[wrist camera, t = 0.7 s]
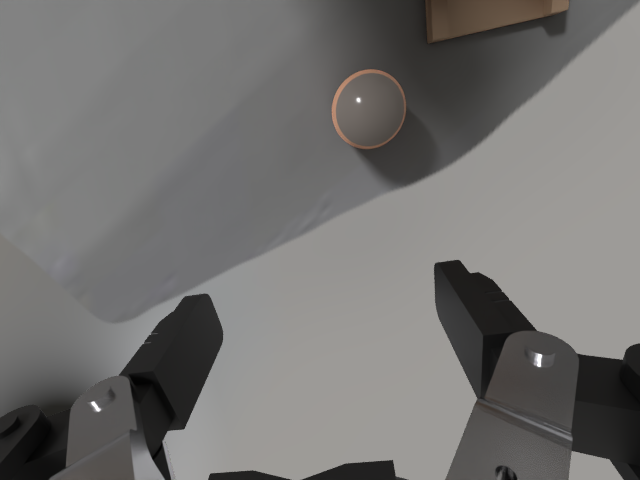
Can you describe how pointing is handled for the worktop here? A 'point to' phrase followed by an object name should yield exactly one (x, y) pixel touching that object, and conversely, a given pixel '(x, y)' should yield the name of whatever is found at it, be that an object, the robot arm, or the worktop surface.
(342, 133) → the terracotta jar
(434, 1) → the lane
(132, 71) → the worktop surface
